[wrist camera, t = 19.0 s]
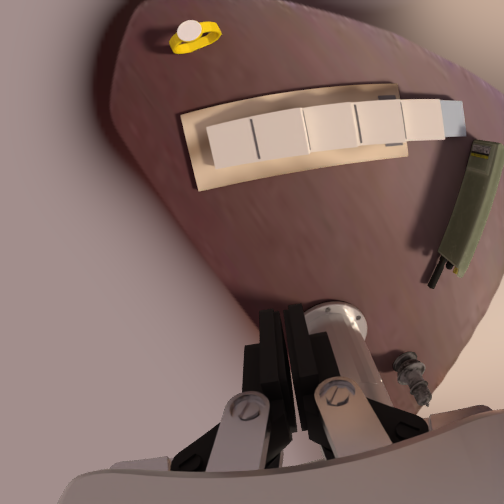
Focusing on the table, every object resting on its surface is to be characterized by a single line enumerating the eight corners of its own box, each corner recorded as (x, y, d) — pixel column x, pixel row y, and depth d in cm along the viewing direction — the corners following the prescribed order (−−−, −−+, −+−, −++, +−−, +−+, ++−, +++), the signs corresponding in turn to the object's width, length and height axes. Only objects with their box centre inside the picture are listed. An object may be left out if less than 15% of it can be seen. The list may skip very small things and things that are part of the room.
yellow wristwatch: (182, 61, 32) (166, 52, 26) (175, 45, 31) (159, 33, 25) (226, 43, 30) (218, 29, 25) (218, 26, 29) (209, 10, 24)
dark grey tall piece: (385, 366, 50) (406, 413, 39) (408, 346, 48) (434, 391, 37) (401, 376, 52) (422, 419, 40) (423, 356, 50) (448, 399, 39)
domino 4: (355, 103, 33) (435, 99, 29) (362, 142, 35) (440, 138, 31) (356, 102, 31) (439, 99, 28) (363, 144, 33) (445, 139, 30)
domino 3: (309, 108, 33) (396, 100, 30) (316, 148, 35) (403, 141, 32) (308, 107, 32) (399, 99, 28) (315, 150, 34) (406, 142, 30)
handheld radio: (484, 145, 34) (434, 285, 44) (470, 136, 34) (420, 282, 44) (510, 150, 28) (453, 306, 37) (497, 140, 28) (438, 302, 37)
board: (405, 155, 36) (408, 156, 35) (199, 190, 38) (198, 191, 37) (394, 84, 32) (397, 83, 31) (181, 115, 34) (180, 115, 33)
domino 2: (257, 116, 34) (349, 102, 30) (266, 157, 36) (357, 145, 32) (254, 116, 32) (350, 101, 29) (263, 159, 34) (358, 147, 31)
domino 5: (409, 139, 32) (466, 136, 32) (403, 99, 30) (462, 101, 30) (402, 138, 34) (459, 135, 34) (396, 100, 32) (455, 101, 32)
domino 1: (211, 126, 34) (302, 107, 30) (220, 166, 36) (310, 152, 32) (205, 127, 33) (299, 107, 29) (215, 169, 35) (308, 154, 31)
